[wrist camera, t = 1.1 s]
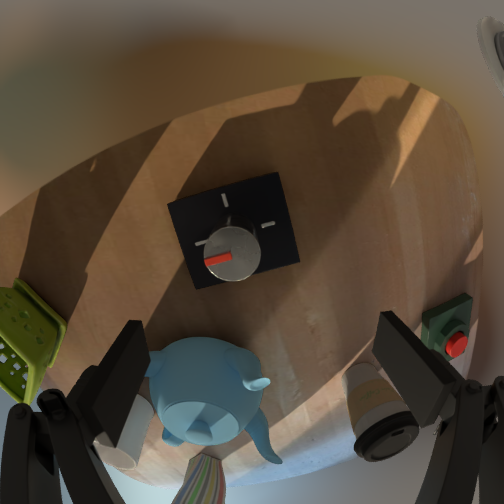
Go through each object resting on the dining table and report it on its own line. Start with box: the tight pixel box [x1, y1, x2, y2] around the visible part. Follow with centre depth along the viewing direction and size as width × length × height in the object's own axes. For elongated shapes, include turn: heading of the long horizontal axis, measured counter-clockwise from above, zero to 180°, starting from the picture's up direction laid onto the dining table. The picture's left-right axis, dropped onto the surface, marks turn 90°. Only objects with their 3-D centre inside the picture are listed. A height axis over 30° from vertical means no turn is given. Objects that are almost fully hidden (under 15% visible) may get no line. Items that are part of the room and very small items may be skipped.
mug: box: [93, 394, 154, 470], centre depth 34 cm, size 12×8×12 cm
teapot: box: [144, 337, 282, 464], centre depth 32 cm, size 17×19×12 cm
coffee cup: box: [342, 363, 419, 462], centre depth 32 cm, size 9×9×15 cm
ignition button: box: [445, 332, 468, 357], centre depth 34 cm, size 4×4×2 cm
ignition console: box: [421, 293, 473, 361], centre depth 36 cm, size 10×12×4 cm
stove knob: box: [204, 212, 261, 281], centre depth 25 cm, size 4×4×8 cm
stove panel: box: [167, 172, 300, 290], centre depth 31 cm, size 12×10×3 cm
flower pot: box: [0, 278, 67, 406], centre depth 29 cm, size 14×14×13 cm
